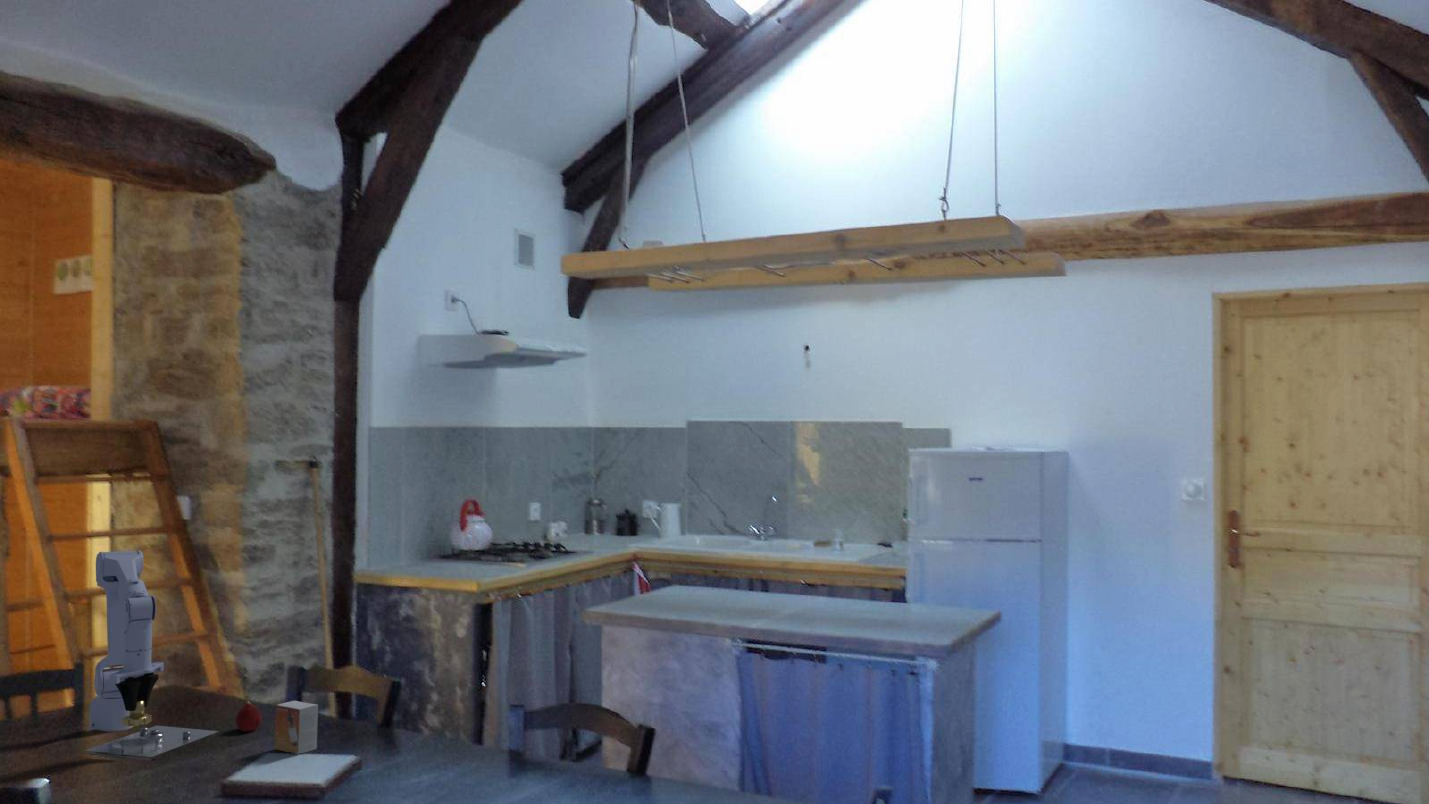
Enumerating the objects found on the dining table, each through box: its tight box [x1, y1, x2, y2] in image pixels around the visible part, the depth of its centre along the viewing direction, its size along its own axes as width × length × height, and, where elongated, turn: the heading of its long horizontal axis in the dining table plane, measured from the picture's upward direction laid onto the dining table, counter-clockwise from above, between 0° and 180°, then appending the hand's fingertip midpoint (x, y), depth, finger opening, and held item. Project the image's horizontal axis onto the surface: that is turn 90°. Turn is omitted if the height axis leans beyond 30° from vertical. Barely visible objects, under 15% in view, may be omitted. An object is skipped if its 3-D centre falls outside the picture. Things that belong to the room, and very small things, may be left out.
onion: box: [235, 700, 262, 733], centre depth 266 cm, size 6×6×8 cm
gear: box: [122, 700, 152, 727], centre depth 251 cm, size 6×6×5 cm
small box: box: [274, 700, 319, 754], centre depth 254 cm, size 8×6×10 cm
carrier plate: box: [84, 725, 219, 762], centre depth 256 cm, size 18×23×3 cm
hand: (136, 708), depth 251 cm, fingers closed on gear, 3 cm apart
